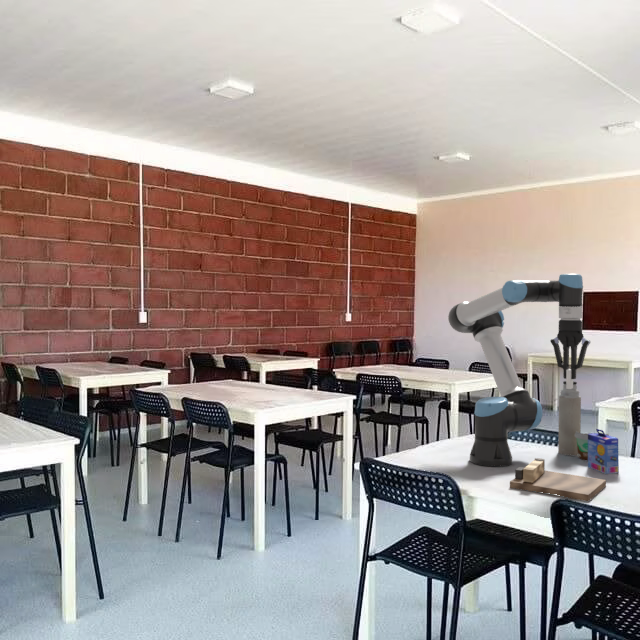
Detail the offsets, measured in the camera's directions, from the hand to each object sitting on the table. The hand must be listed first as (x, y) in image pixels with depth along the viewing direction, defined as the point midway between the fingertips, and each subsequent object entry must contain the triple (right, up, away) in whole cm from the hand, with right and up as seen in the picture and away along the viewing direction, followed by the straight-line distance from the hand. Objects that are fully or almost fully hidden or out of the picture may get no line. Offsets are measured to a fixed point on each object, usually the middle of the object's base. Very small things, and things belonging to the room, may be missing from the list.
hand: (569, 388), depth 226 cm
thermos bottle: (+12, -29, +31) cm, 44 cm away
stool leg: (-15, -28, -11) cm, 33 cm away
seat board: (-9, -30, -15) cm, 35 cm away
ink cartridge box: (+14, -30, +6) cm, 33 cm away
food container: (+16, -29, +20) cm, 39 cm away
